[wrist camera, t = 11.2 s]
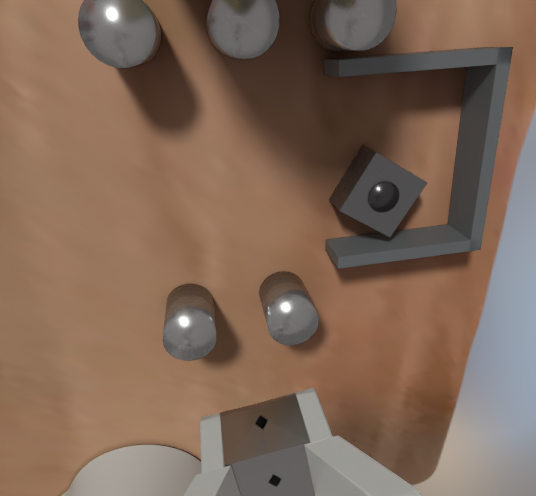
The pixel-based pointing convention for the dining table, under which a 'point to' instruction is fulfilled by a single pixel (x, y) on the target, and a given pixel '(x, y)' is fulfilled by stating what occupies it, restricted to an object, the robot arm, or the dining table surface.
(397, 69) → the tray
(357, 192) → the grey square block
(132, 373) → the dining table surface
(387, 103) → the dining table surface
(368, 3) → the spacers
